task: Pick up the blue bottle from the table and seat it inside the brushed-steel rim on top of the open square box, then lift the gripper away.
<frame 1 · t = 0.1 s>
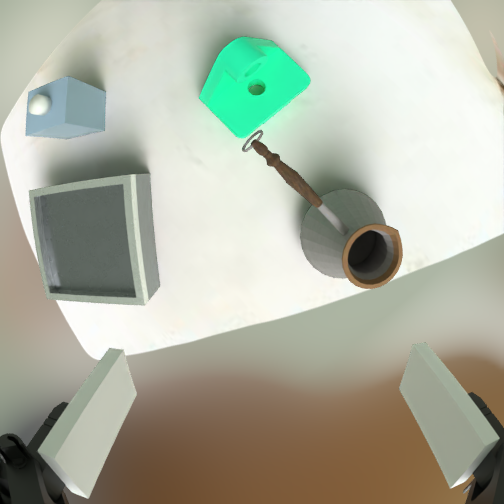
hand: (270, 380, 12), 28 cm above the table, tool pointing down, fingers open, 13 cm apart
coffee pot: (313, 205, 38), on the table
camera mount: (256, 93, 34), on the table
blue bottle: (85, 115, 34), on the table
open square box: (102, 233, 39), on the table
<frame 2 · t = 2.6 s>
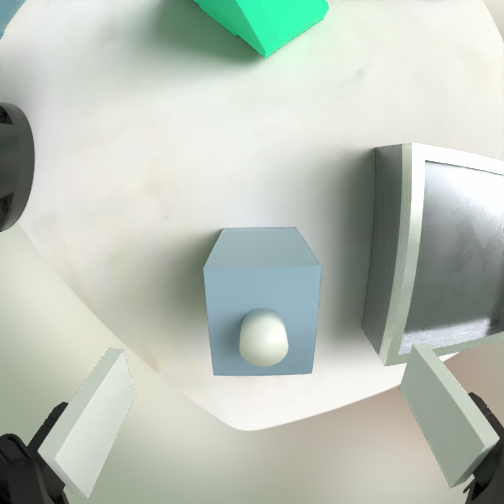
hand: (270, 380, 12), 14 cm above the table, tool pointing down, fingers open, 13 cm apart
camera mount: (250, 1, 19), on the table
blue bottle: (260, 267, 25), on the table
open square box: (441, 243, 24), on the table
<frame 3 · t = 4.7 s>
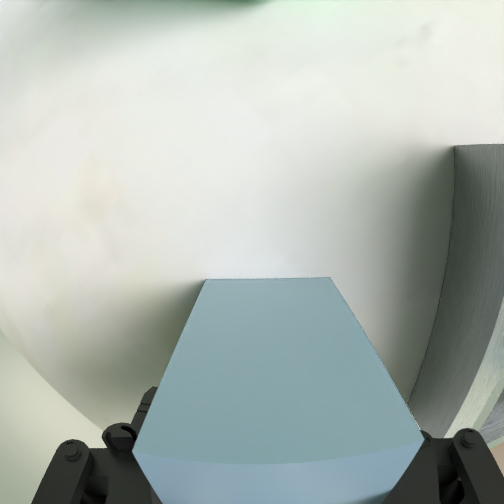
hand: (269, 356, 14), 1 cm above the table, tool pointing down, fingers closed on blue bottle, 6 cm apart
blue bottle: (268, 340, 15), on the table, touching gripper
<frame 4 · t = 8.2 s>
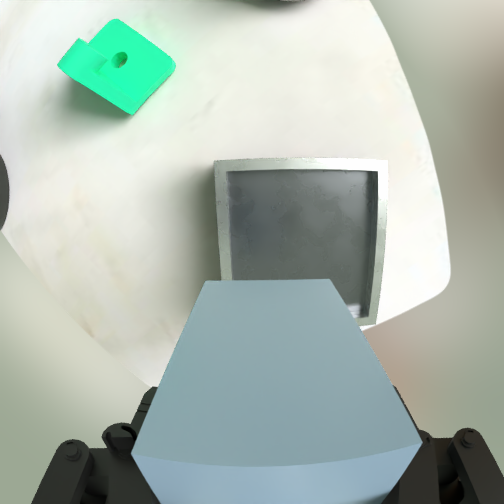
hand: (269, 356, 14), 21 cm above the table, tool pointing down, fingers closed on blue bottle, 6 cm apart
camera mount: (128, 66, 28), on the table
blue bottle: (267, 341, 15), point 19 cm above the table, touching gripper
open square box: (296, 235, 33), on the table
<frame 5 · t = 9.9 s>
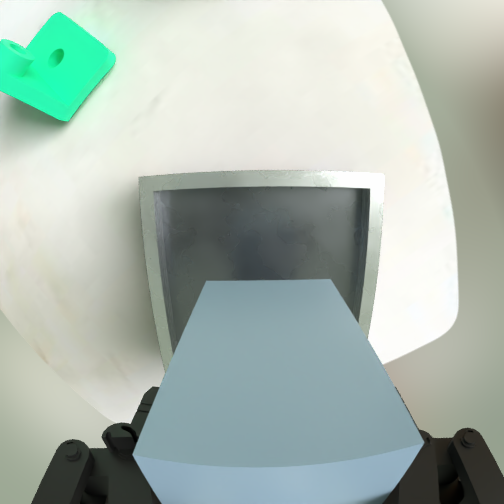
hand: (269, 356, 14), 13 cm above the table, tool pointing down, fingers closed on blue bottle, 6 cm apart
camera mount: (70, 64, 21), on the table
blue bottle: (268, 342, 15), point 12 cm above the table, touching gripper
open square box: (262, 268, 26), on the table
when the fingers open (8 cm above the table, at t = 11.6 s): blue bottle drops 1 cm, resting on open square box.
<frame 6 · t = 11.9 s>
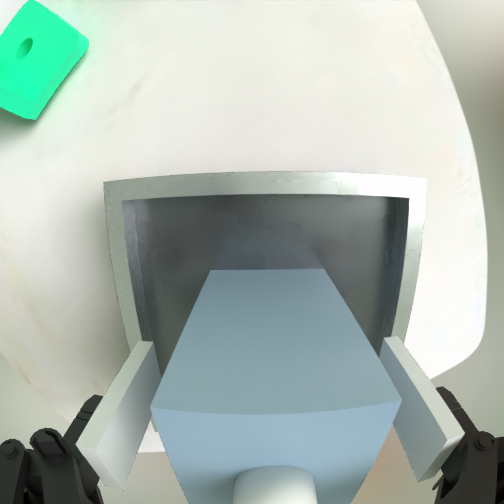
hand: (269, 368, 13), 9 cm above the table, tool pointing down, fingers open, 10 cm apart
camera mount: (42, 56, 16), on the table
blue bottle: (267, 327, 16), point 5 cm above the table, touching open square box
open square box: (265, 292, 21), on the table
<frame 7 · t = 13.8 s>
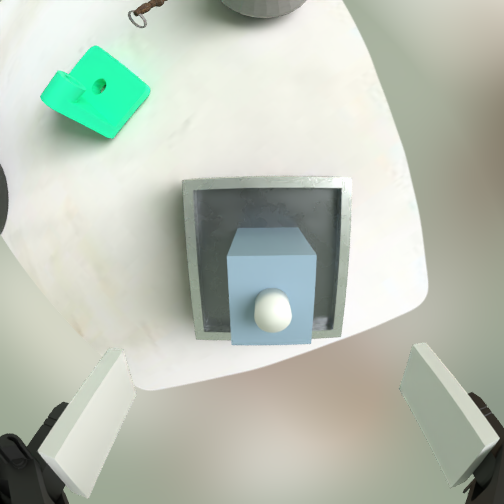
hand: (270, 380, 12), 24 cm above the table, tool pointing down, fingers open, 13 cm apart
coffee pot: (236, 15, 27), on the table
camera mount: (109, 91, 30), on the table
blue bottle: (268, 261, 30), point 5 cm above the table, touching open square box
open square box: (267, 248, 35), on the table
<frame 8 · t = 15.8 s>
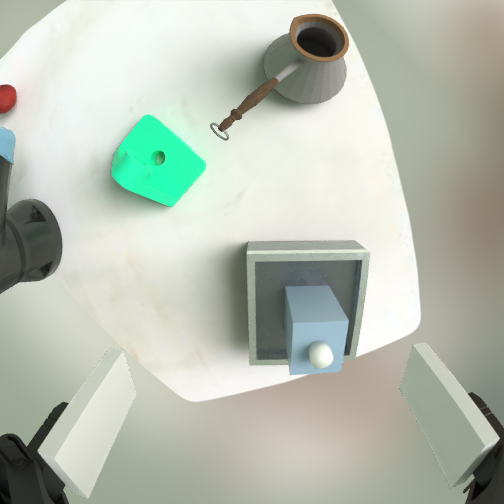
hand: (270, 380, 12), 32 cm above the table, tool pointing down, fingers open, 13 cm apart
onion: (15, 101, 36), on the table
coffee pot: (280, 94, 37), on the table
camera mount: (163, 158, 40), on the table
blue bottle: (305, 309, 40), point 5 cm above the table, touching open square box
open square box: (301, 294, 45), on the table
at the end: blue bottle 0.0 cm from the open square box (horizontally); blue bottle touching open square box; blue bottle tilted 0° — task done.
